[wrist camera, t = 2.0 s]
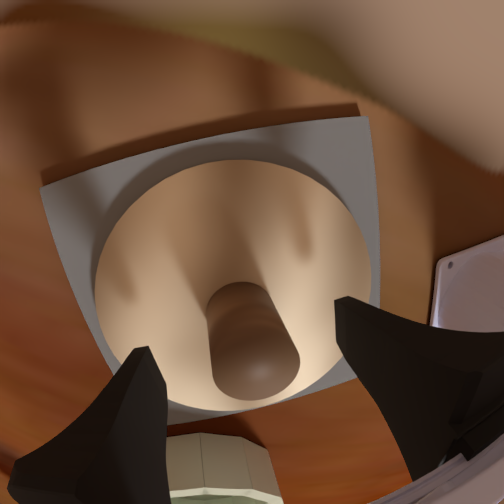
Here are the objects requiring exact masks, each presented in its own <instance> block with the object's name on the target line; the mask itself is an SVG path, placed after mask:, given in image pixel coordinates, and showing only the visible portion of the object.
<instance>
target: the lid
mask: <svg viewBox="0 0 504 504" xmlns="http://www.w3.org/2000/svg"><path fill="white" fill-rule="evenodd" d="M370 292H371V266H370V258H369V254H368V250H367V246H366V243H365V240H364V238H363V235H362V233H361V230H360V228H359V226H358V225H357V223H356V221H355V220H354V218H353V216H352V214H351V213H350V212H349V211H348V210H347V208H346V207H345V206H344V205H343V203H342V202H341V201H340V200H339V199H338V198H337V197H336V196H335V195H334V194H332V193H331V192H330V191H329V190H328V189H327V188H325V187H324V186H322V185H321V184H319V183H318V182H316V181H315V180H313V179H312V178H310V177H308V176H306V175H304V174H302V173H299V172H297V171H295V170H293V169H290V168H287V167H283V166H280V165H276V164H273V163H268V162H262V161H254V160H221V161H215V162H208V163H204V164H200V165H197V166H194V167H191V168H187V169H184V170H182V171H180V172H178V173H176V174H174V175H172V176H169V177H167V178H166V179H164V180H162V181H161V182H159V183H158V184H156V185H155V186H153V187H152V188H150V189H149V190H148V191H147V192H145V193H144V194H143V195H142V196H141V197H140V198H139V199H138V200H137V201H135V202H134V203H133V204H132V205H131V206H130V207H129V208H128V210H127V211H126V212H125V213H124V214H123V216H122V217H121V218H120V219H119V221H118V222H117V223H116V225H115V227H114V228H113V230H112V232H111V233H110V235H109V237H108V239H107V241H106V243H105V245H104V248H103V251H102V253H101V256H100V259H99V263H98V267H97V272H96V279H95V304H96V312H97V316H98V320H99V324H100V328H101V330H102V333H103V335H104V337H105V340H106V342H107V344H108V346H109V347H110V349H111V351H112V352H113V354H114V356H115V357H116V358H117V360H118V361H119V362H120V363H121V365H122V364H123V362H124V361H125V359H126V358H127V357H128V355H129V354H130V353H131V351H132V350H133V349H134V348H138V347H143V346H149V348H150V350H151V352H152V354H153V356H154V359H155V361H156V363H157V365H158V367H159V369H160V372H161V374H162V376H163V378H164V380H165V382H166V385H167V397H168V399H169V400H171V401H174V402H177V403H180V404H183V405H186V406H190V407H194V408H199V409H205V410H216V411H236V410H245V409H252V408H257V407H262V406H266V405H269V404H272V403H275V402H278V401H281V400H283V399H286V398H288V397H290V396H292V395H294V394H296V393H298V392H300V391H302V390H304V389H305V388H307V387H308V386H310V385H311V384H313V383H314V382H316V381H317V380H318V379H320V378H321V377H322V376H323V375H324V374H326V373H327V372H328V371H329V370H330V369H331V368H332V367H333V366H334V365H335V364H336V363H337V362H338V361H339V360H340V359H341V357H342V356H343V354H342V352H341V350H340V348H339V346H338V345H337V343H336V331H335V310H334V300H335V299H339V298H342V297H345V296H351V297H353V298H356V299H358V300H361V301H363V302H365V303H369V297H370Z"/></svg>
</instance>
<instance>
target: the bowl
mask: <svg viewBox="0 0 504 504" xmlns="http://www.w3.org/2000/svg"><path fill="white" fill-rule="evenodd" d="M166 466H167V476H168V484H169V491H170V498H171V504H284V503H283V500H282V497H281V493H280V490H279V486H278V483H277V480H276V476H275V473H274V469H273V466H272V463H271V459H270V456H269V453H268V450H267V449H265V448H263V447H261V446H259V445H257V444H255V443H253V442H251V441H249V440H247V439H245V438H243V437H237V436H226V435H216V434H208V433H193V434H187V435H180V436H172V437H167V439H166Z"/></svg>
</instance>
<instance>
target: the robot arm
mask: <svg viewBox="0 0 504 504" xmlns="http://www.w3.org/2000/svg"><path fill="white" fill-rule="evenodd" d="M448 264H449V265H448ZM334 310H335V331H336V343H337V345H338V346H339V348H340V350H341V352H342V354H343V356H344V358H345V360H346V361H347V363H348V364H349V366H350V367H351V369H352V370H353V371H354V373H355V374H356V376H357V377H358V378H359V380H360V381H361V382H362V384H363V385H364V387H365V388H366V389H367V391H368V392H369V394H370V395H371V396H372V398H373V399H374V401H375V402H376V404H377V405H378V407H379V409H380V411H381V412H382V414H383V416H384V418H385V420H386V422H387V424H388V426H389V428H390V430H391V432H392V434H393V436H394V438H395V440H396V442H397V444H398V446H399V449H400V451H401V453H402V455H403V458H404V460H405V462H406V465H407V468H408V470H409V473H410V475H411V478H412V481H413V482H412V483H410V484H408V485H406V486H405V487H403V488H401V489H399V490H397V491H395V492H393V493H391V494H388V495H386V496H384V497H382V498H380V499H378V500H375V501H373V502H371V503H368V504H498V503H499V502H500V501H501V500H502V499H503V498H504V235H502V236H499V237H497V238H494V239H492V240H489V241H487V242H484V243H482V244H479V245H476V246H474V247H471V248H468V249H466V250H463V251H460V252H458V253H455V254H452V255H449V256H447V257H444V258H442V259H440V260H439V261H438V263H437V266H436V276H435V286H434V296H433V304H432V312H431V319H430V325H426V324H421V323H418V322H414V321H411V320H408V319H405V318H402V317H400V316H397V315H394V314H392V313H389V312H387V311H384V310H382V309H379V308H377V307H375V306H372V305H370V304H368V303H365V302H363V301H361V300H358V299H356V298H353V297H351V296H345V297H342V298H339V299H335V300H334ZM167 419H168V397H167V385H166V382H165V380H164V378H163V376H162V374H161V372H160V369H159V367H158V365H157V363H156V361H155V359H154V356H153V354H152V352H151V350H150V348H149V346H143V347H138V348H134V349H133V350H132V351H131V353H130V354H129V355H128V357H127V358H126V359H125V361H124V362H123V364H122V365H121V366H120V368H119V369H118V371H117V372H116V373H115V375H114V376H113V377H112V379H111V380H110V382H109V383H108V384H107V385H106V387H105V388H104V389H103V390H102V392H101V393H100V394H99V395H98V397H97V398H96V399H95V400H94V401H93V403H92V404H91V405H90V406H89V407H88V408H87V409H86V410H85V411H84V412H83V413H82V414H81V415H80V416H79V417H78V418H77V419H76V420H75V421H74V422H73V423H71V424H70V425H69V426H68V427H67V428H66V429H64V430H63V431H62V432H61V433H60V434H58V435H57V436H56V437H54V438H53V439H52V440H50V441H49V442H47V443H46V444H44V445H43V446H41V447H40V448H38V449H36V450H34V451H33V452H31V453H29V454H27V455H25V456H23V457H22V458H20V459H17V460H16V461H15V464H14V467H13V470H12V473H11V476H10V480H9V483H8V487H7V490H8V492H9V494H10V495H11V496H12V498H13V499H14V500H15V501H17V502H18V503H19V504H171V498H170V491H169V484H168V476H167V466H166V439H167Z"/></svg>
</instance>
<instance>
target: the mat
mask: <svg viewBox="0 0 504 504" xmlns="http://www.w3.org/2000/svg"><path fill="white" fill-rule="evenodd" d="M221 160H254V161H262V162H268V163H273V164H276V165H280V166H283V167H287V168H290V169H293V170H295V171H297V172H299V173H302V174H304V175H306V176H308V177H310V178H312V179H313V180H315V181H316V182H318V183H319V184H321V185H322V186H324V187H325V188H327V189H328V190H329V191H330V192H331V193H332V194H334V195H335V196H336V197H337V198H338V199H339V200H340V201H341V202H342V203H343V205H344V206H345V207H346V208H347V210H348V211H349V212H350V213H351V214H352V216H353V218H354V220H355V221H356V223H357V225H358V226H359V228H360V230H361V233H362V235H363V238H364V240H365V243H366V246H367V250H368V254H369V258H370V266H371V292H370V297H369V303H368V304H370V305H372V306H375V307H377V308H379V309H380V237H379V215H378V200H377V187H376V176H375V166H374V157H373V148H372V140H371V133H370V126H369V119H368V116H358V117H345V118H333V119H323V120H313V121H305V122H297V123H289V124H282V125H275V126H268V127H262V128H256V129H250V130H244V131H238V132H233V133H228V134H223V135H218V136H213V137H208V138H203V139H199V140H194V141H190V142H185V143H181V144H177V145H173V146H169V147H165V148H161V149H157V150H153V151H150V152H146V153H142V154H139V155H135V156H132V157H128V158H125V159H122V160H118V161H115V162H112V163H109V164H105V165H102V166H99V167H96V168H93V169H90V170H87V171H84V172H81V173H78V174H76V175H73V176H70V177H67V178H64V179H62V180H59V181H56V182H54V183H51V184H49V185H46V186H43V187H41V188H39V190H40V194H41V198H42V201H43V205H44V209H45V212H46V216H47V219H48V222H49V226H50V229H51V232H52V235H53V238H54V241H55V244H56V247H57V250H58V253H59V256H60V259H61V261H62V264H63V267H64V270H65V272H66V275H67V277H68V280H69V282H70V285H71V287H72V290H73V292H74V295H75V297H76V299H77V302H78V304H79V306H80V309H81V311H82V313H83V315H84V318H85V320H86V322H87V324H88V326H89V328H90V330H91V333H92V335H93V337H94V339H95V341H96V343H97V345H98V347H99V349H100V351H101V352H102V354H103V356H104V358H105V360H106V362H107V364H108V366H109V367H110V369H111V371H112V373H113V375H115V373H116V372H117V371H118V369H119V368H120V366H121V363H120V362H119V361H118V360H117V358H116V357H115V356H114V354H113V352H112V351H111V349H110V347H109V346H108V344H107V342H106V340H105V337H104V335H103V333H102V330H101V328H100V324H99V320H98V316H97V312H96V304H95V279H96V272H97V267H98V263H99V259H100V256H101V253H102V251H103V248H104V245H105V243H106V241H107V239H108V237H109V235H110V233H111V232H112V230H113V228H114V227H115V225H116V223H117V222H118V221H119V219H120V218H121V217H122V216H123V214H124V213H125V212H126V211H127V210H128V208H129V207H130V206H131V205H132V204H133V203H134V202H135V201H137V200H138V199H139V198H140V197H141V196H142V195H143V194H144V193H145V192H147V191H148V190H149V189H150V188H152V187H153V186H155V185H156V184H158V183H159V182H161V181H162V180H164V179H166V178H167V177H169V176H172V175H174V174H176V173H178V172H180V171H182V170H184V169H187V168H191V167H194V166H197V165H200V164H204V163H208V162H215V161H221ZM354 378H357V376H356V374H355V373H354V371H353V370H352V369H351V367H350V366H349V364H348V363H347V361H346V360H345V358H344V356H342V357H341V359H340V360H339V361H338V362H337V363H336V364H335V365H334V366H333V367H332V368H331V369H330V370H329V371H328V372H327V373H326V374H324V375H323V376H322V377H321V378H320V379H318V380H317V381H316V382H314V383H313V384H311V385H310V386H308V387H307V388H305V389H304V390H302V391H300V392H298V393H296V394H294V395H292V396H290V397H288V398H286V399H283V400H281V401H278V402H275V403H272V404H276V403H279V402H283V401H286V400H290V399H293V398H297V397H300V396H304V395H307V394H310V393H313V392H316V391H319V390H323V389H326V388H329V387H332V386H334V385H337V384H340V383H343V382H346V381H349V380H351V379H354ZM272 404H269V405H272ZM266 406H268V405H266ZM262 407H264V406H262ZM257 408H260V407H257ZM252 409H256V408H252ZM252 409H245V410H236V411H216V410H205V409H199V408H194V407H190V406H186V405H183V404H180V403H177V402H174V401H171V400H169V399H168V419H167V425H173V424H180V423H187V422H193V421H199V420H204V419H210V418H215V417H220V416H225V415H230V414H234V413H239V412H243V411H248V410H252Z"/></svg>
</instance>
